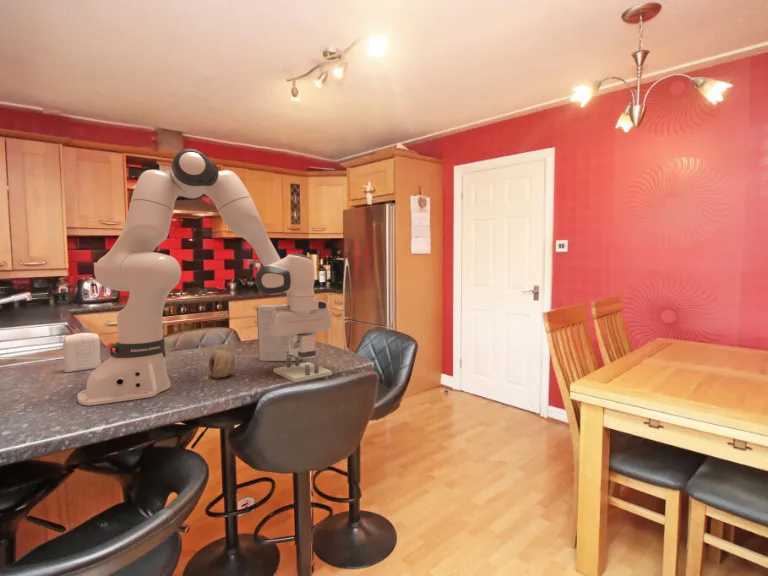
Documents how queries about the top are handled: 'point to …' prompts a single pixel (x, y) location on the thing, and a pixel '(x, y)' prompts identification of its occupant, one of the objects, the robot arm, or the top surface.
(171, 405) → the top surface
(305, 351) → the block
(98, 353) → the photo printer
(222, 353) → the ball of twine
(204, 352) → the top surface
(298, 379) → the pin tray
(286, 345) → the hard drive box
